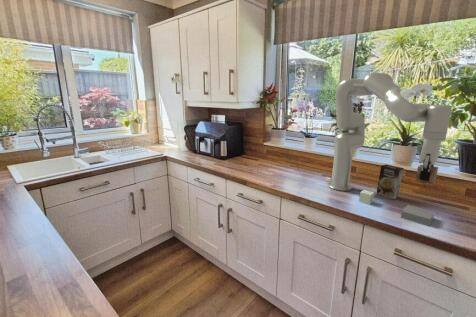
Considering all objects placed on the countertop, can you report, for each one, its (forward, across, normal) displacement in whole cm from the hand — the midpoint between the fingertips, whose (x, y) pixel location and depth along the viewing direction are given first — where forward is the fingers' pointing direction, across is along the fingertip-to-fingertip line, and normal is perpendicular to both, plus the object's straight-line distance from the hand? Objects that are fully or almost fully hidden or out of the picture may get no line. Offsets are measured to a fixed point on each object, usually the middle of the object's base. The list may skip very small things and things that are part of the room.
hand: (425, 178), depth 106 cm
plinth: (+18, 0, 0) cm, 18 cm away
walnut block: (+1, 0, 0) cm, 1 cm away
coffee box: (+18, -19, -17) cm, 32 cm away
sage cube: (+18, -2, -22) cm, 29 cm away
